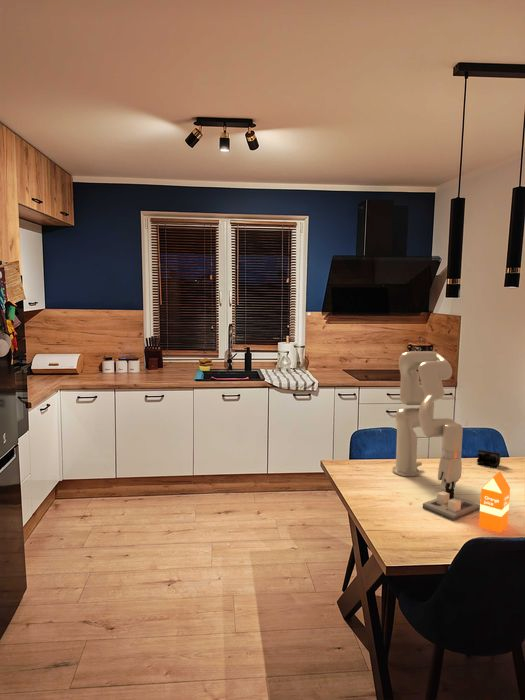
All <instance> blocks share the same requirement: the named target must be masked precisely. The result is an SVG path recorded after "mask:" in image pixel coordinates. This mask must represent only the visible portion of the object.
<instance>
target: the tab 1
mask: <svg viewBox="0 0 525 700" xmlns="http://www.w3.org/2000/svg"><path fill="white" fill-rule="evenodd" d="M449 496H450V493H447V492H445V490H442V491H440V492H437V493H436V498H437V504H440V505H444V504H446V503H448V500H449Z"/></svg>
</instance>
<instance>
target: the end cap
mask: <svg viewBox="0 0 525 700" xmlns="http://www.w3.org/2000/svg"><path fill="white" fill-rule="evenodd" d="M476 456H477V459H476V462H477V466H481V467H487V468H490V469H491V468H492V469H497V468H498V467H499V466H500V463H501V459H502V458H501V453H500V452H499V453H498V452H492V451H488V450H482V449H478V453H477V454H476Z"/></svg>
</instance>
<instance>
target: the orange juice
mask: <svg viewBox="0 0 525 700" xmlns="http://www.w3.org/2000/svg"><path fill="white" fill-rule="evenodd" d="M480 489H481V490H480V504H479V505H480V510H479V520H478V521H479V523H478V526H479V527H481V528H483V529H486V530H487V529H488V530H490V531H493V532H497V533H502V532H503V530H505V528H506V527H508V525H509V511H510V496H511V495H510V494H511V487H510V485H509V483H508V482H507V481H506V478H505V477H504V475H503V474H502V472H501V471H499V472H497V473H495V475H494V476H491V478H490V479H489V480H488V481H487V482H486V483H485V484H484V485H483V486H482V487H481V488H480Z"/></svg>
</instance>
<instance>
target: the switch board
mask: <svg viewBox="0 0 525 700" xmlns="http://www.w3.org/2000/svg"><path fill="white" fill-rule="evenodd" d="M454 498H455V499H458V500H460V501H461V510H460V511H457V512H455V513H453V512H451V511H448V503H446V504H444V505H440V504H437V497H436V498H433V499H431V500H428V501H426V502H423V503H422V509H424V510H426V511H429V512H430V513H434V514H436V515H438V516H441V517H443V518H446V519H448V520H450V521H452V522H453V521H457V520H460V519H462V518H464V517H466V516H468V515H472V514H473V513H475V512H478V511H480V504H479V503H477V502H473V501H470V500H468V499H465V498H462V497H461V496H457V495H456V494H454ZM454 498H449V500H451V499H454Z"/></svg>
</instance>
